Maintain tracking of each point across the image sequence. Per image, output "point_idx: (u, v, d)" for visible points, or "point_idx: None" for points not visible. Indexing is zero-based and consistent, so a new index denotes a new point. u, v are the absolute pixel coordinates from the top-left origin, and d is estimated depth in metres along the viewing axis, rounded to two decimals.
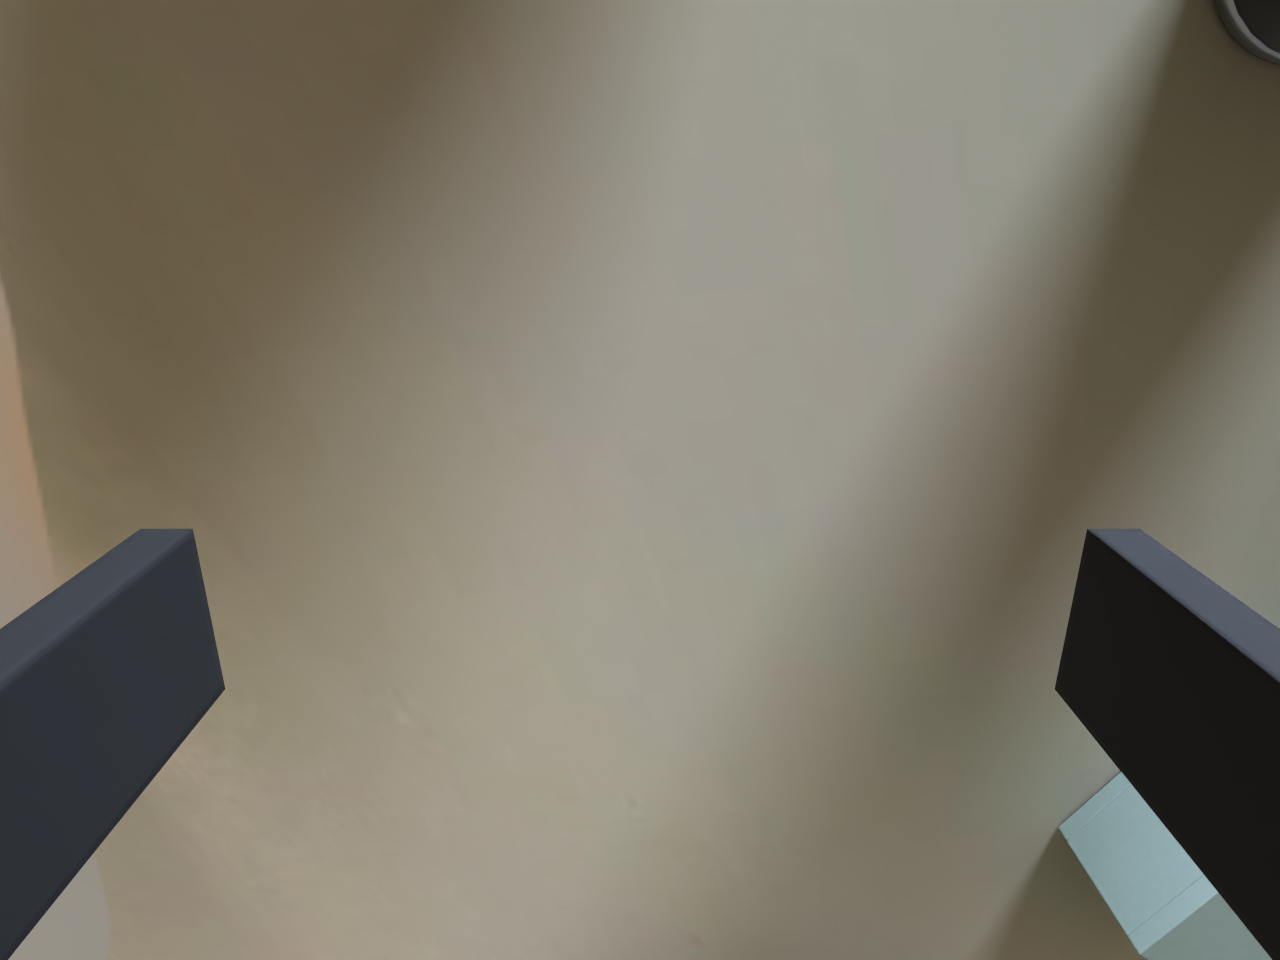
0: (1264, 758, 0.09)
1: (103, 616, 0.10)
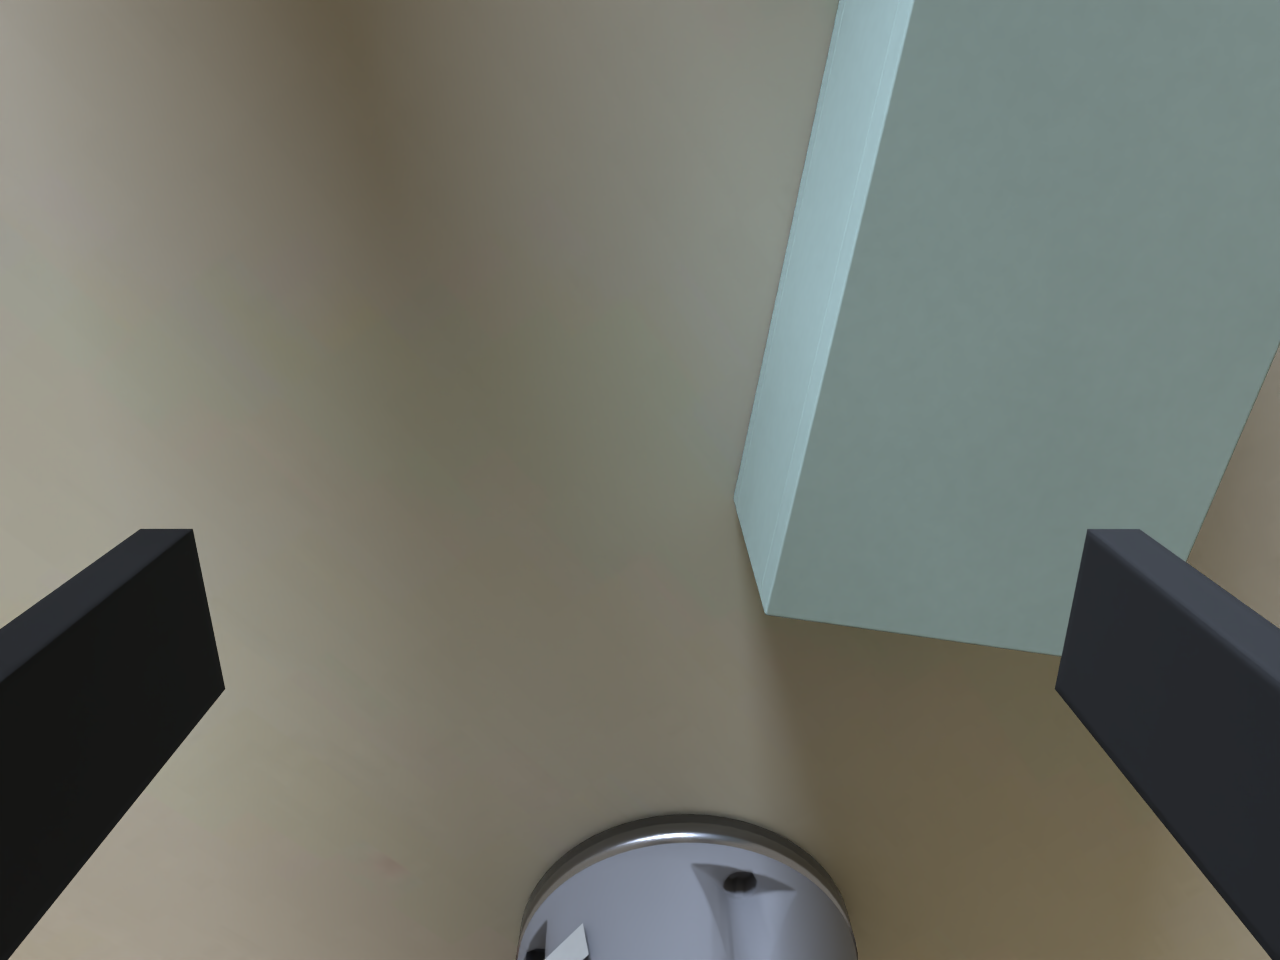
0: (1264, 758, 0.09)
1: (103, 617, 0.10)
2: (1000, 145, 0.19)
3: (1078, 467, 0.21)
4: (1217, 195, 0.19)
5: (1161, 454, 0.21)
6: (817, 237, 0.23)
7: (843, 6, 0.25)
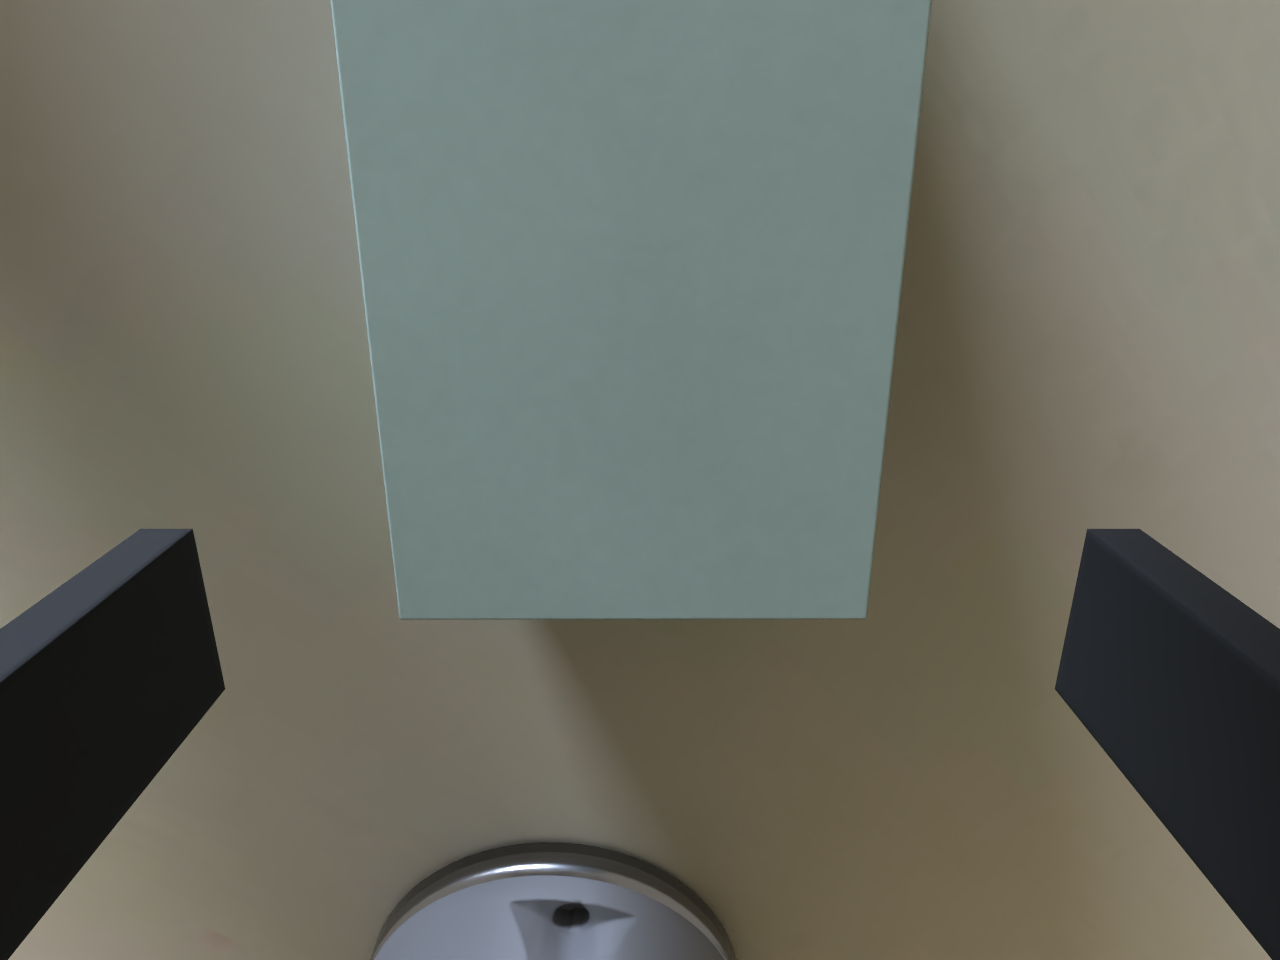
0: (1264, 758, 0.09)
1: (103, 616, 0.10)
2: (481, 2, 0.15)
3: (710, 388, 0.17)
4: (771, 18, 0.15)
5: (807, 356, 0.17)
6: None
7: None
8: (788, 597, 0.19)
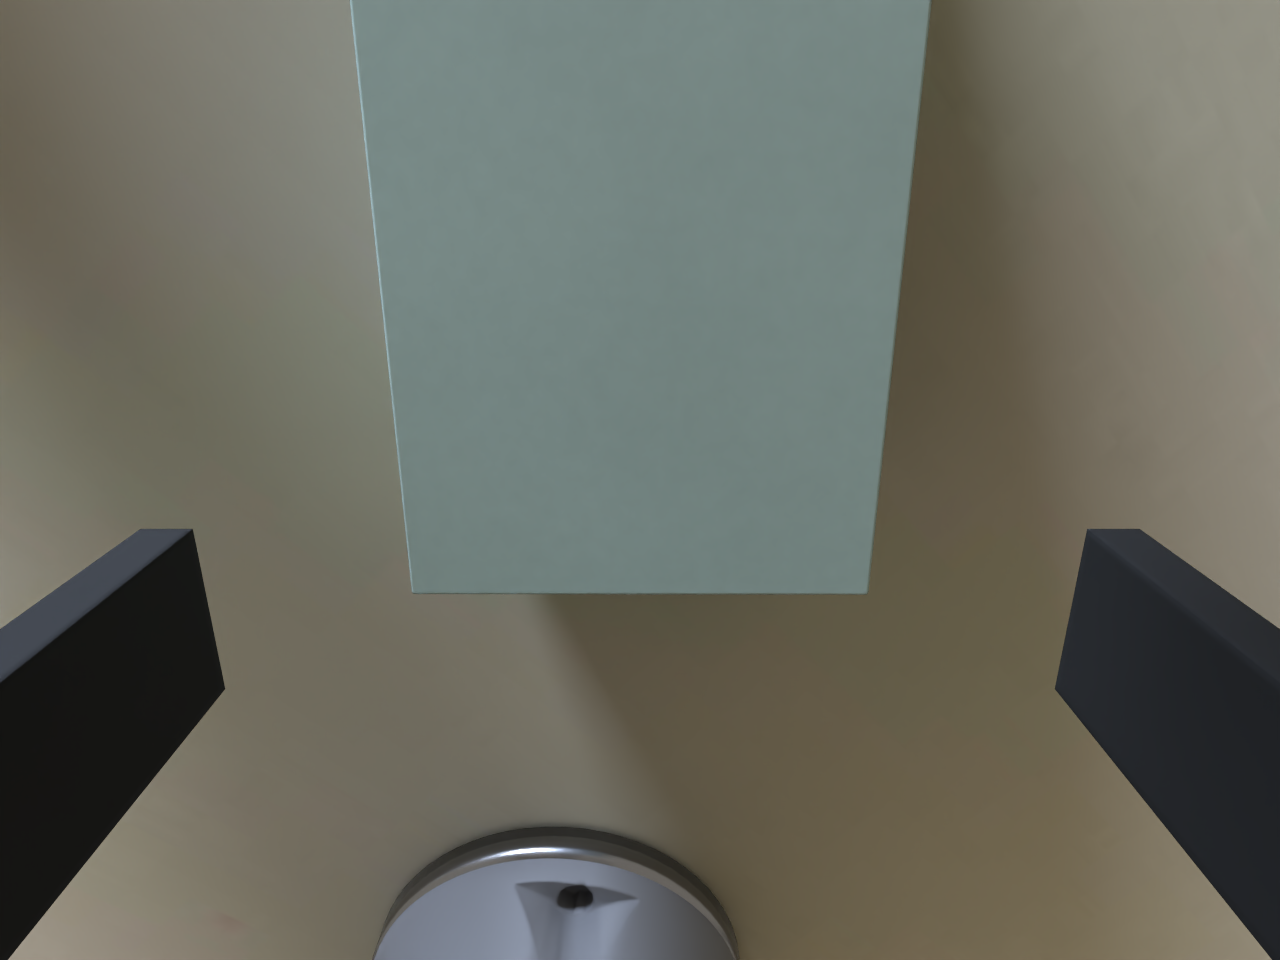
0: (1264, 758, 0.09)
1: (103, 616, 0.10)
2: None
3: (716, 366, 0.18)
4: (776, 4, 0.16)
5: (810, 335, 0.18)
6: None
7: None
8: (791, 573, 0.20)
